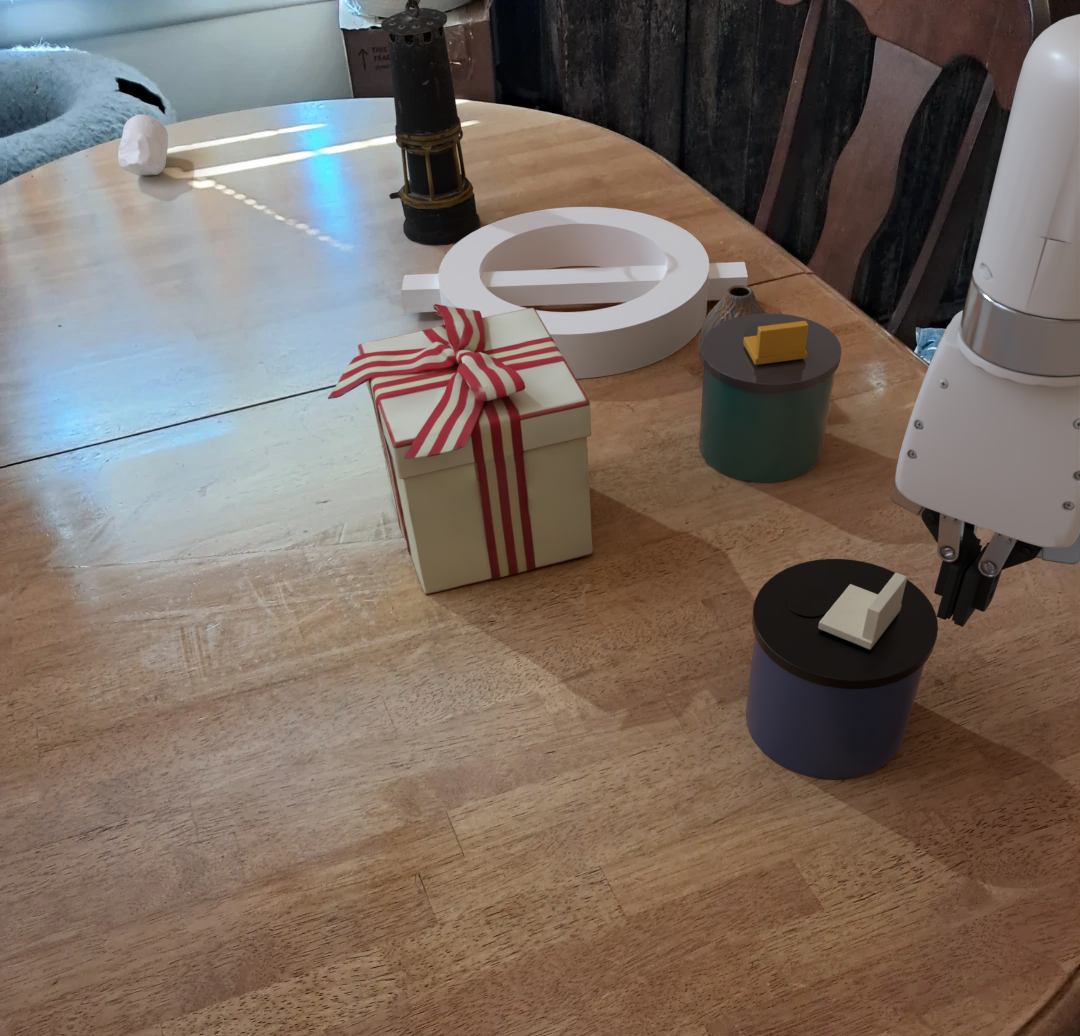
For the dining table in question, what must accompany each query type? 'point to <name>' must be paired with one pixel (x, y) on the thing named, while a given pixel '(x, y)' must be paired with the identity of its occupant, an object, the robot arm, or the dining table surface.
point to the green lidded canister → (765, 402)
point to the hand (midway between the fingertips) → (959, 608)
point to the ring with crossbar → (585, 282)
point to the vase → (730, 309)
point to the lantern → (428, 130)
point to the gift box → (480, 445)
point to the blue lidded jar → (833, 672)
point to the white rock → (143, 146)
